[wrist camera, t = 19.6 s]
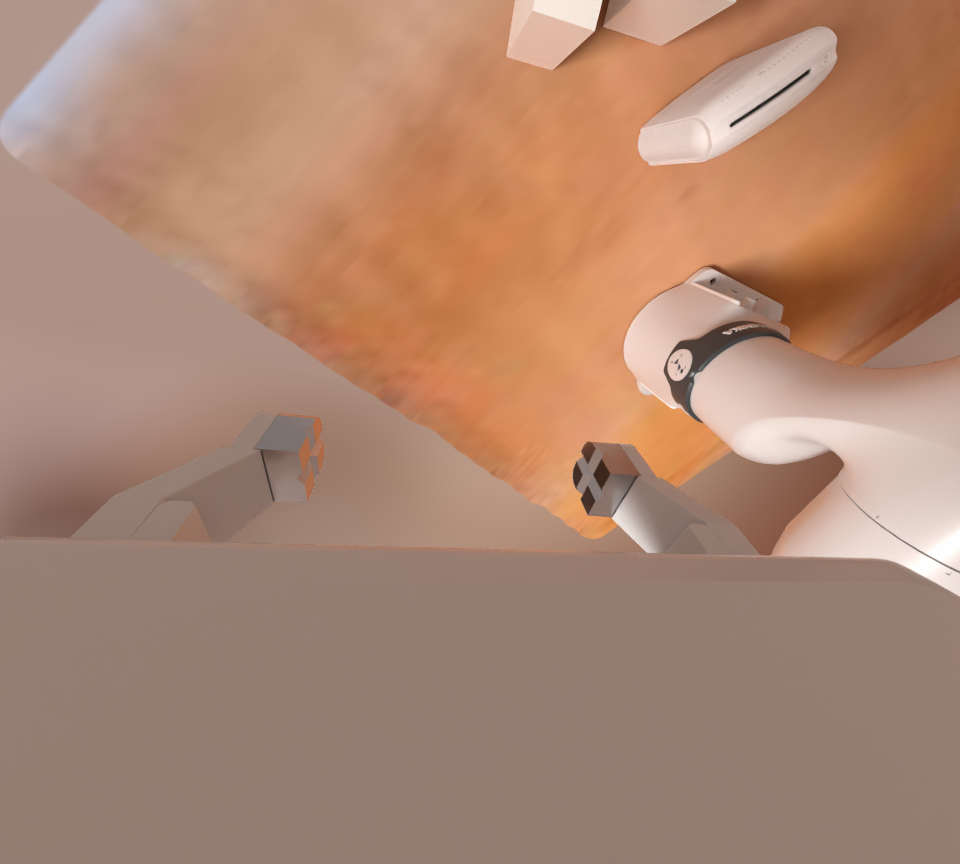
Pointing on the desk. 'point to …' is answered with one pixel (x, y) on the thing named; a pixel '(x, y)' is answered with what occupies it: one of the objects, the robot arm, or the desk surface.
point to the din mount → (660, 17)
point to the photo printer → (738, 99)
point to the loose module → (550, 29)
